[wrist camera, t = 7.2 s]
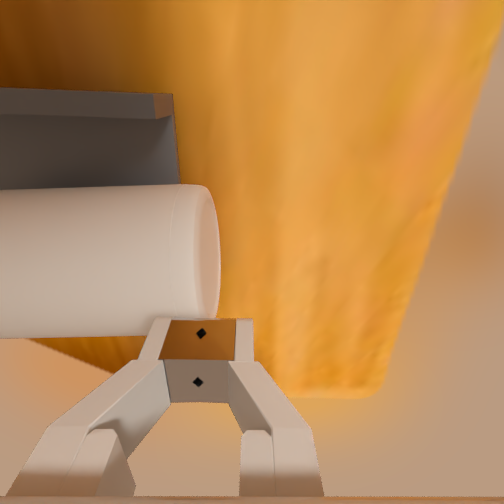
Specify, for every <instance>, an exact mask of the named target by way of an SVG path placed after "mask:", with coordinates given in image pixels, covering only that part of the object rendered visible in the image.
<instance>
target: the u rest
mask: <svg viewBox="0 0 504 504" xmlns="http://www.w3.org/2000/svg"><path fill="white" fill-rule="evenodd" d="M169 184H181V181H180V170H179V159H178V148H177V138H176V127H175V116H174V105H173V94H163V93H138V92H113V91H88V90H63V89H38V88H13V87H0V190H15V189H46V188H77V187H107V186H138V185H169Z"/></svg>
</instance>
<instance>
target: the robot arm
mask: <svg viewBox="0 0 504 504" xmlns="http://www.w3.org/2000/svg"><path fill="white" fill-rule="evenodd" d="M171 402H213V403H229V406H230V408H231V410H232V412H233V414H234V416H235V418H236V420H237V422H238V424H239V426H240V428H241V430H242V432H243V435H242V436H241V461H240V489H239V490H240V491H239V497H219V496H218V497H217V496H216V497H211V496H210V497H209V496H207V497H206V496H201V497H200V496H199V497H198V496H196V497H195V496H193V497H192V496H191V497H190V496H187V497H186V496H185V497H184V496H180V497H175V496H169V497H168V496H167V497H166V496H165V497H163V496H161V497H160V496H151V497H150V496H143V497H142V496H138V497H137V496H133V494H134V490H135V487H136V485H135V482H134V479H133V477H132V474H131V471H130V469H129V466H128V463H127V458H128V457H129V456H130V455H131V453H132V452H133V451H134V449H135V448H136V447H137V446H138V445H139V443H140V442H141V441H142V440H143V438H144V437H145V436H146V435H147V433H148V432H149V431H150V429H151V428H152V427H153V426H154V425H155V423H156V422H157V421H158V420H159V418H160V417H161V416H162V415H163V413H164V412H165V411H166V410H167V408H168V407H169V406H170V405H171ZM0 504H504V497H324V492H323V487H322V482H321V477H320V471H319V467H318V461H317V455H316V450H315V445H314V440H313V434H312V430H311V428H310V427H309V425H308V424H307V423H306V422H305V420H304V419H303V418H302V416H301V415H300V414H299V413H298V411H297V410H296V409H295V407H294V406H293V405H292V404H291V402H290V401H289V400H288V398H287V397H286V396H285V394H284V393H283V392H282V391H281V389H280V388H279V387H278V385H277V384H276V383H275V382H274V380H273V379H272V378H271V376H270V375H269V374H268V373H267V371H266V370H265V369H264V367H263V366H262V365H261V364H260V362H256V361H254V340H253V320H252V318H237V320H236V319H235V318H186V317H156V318H155V320H154V321H153V323H152V326H151V328H150V331H149V333H148V335H147V338H146V340H145V342H144V345H143V347H142V350H141V352H140V354H139V357H138V359H137V360H131V361H130V362H129V363H127V364H126V365H125V366H123V367H122V368H121V369H120V370H118V371H117V372H116V373H115V374H113V375H112V376H111V377H110V378H108V379H107V380H106V381H105V382H103V383H102V384H101V385H100V386H98V387H97V388H96V389H94V390H93V391H92V392H91V393H90V394H88V395H87V396H86V397H84V398H83V399H82V400H81V401H79V402H78V403H77V404H76V405H74V406H73V407H72V408H71V409H69V410H68V411H67V412H66V413H64V414H63V415H62V416H61V417H59V418H58V419H57V420H55V421H54V422H53V423H52V424H50V425H49V426H48V427H47V428H46V430H45V432H44V433H43V435H42V437H41V438H40V440H39V442H38V443H37V445H36V447H35V448H34V450H33V452H32V453H31V455H30V456H29V458H28V460H27V461H26V463H25V465H24V467H23V468H22V470H21V471H20V473H19V475H18V476H17V478H16V480H15V481H14V483H13V484H12V487H11V488H10V489H9V491H8V493H7V494H6V496H0Z"/></svg>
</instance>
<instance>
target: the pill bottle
mask: <svg viewBox="0 0 504 504" xmlns="http://www.w3.org/2000/svg"><path fill="white" fill-rule="evenodd" d="M220 277H221V258H220V238H219V228H218V221H217V214H216V209H215V205H214V202H213V199H212V196H211V194H210V192H209V190H208V189H207V188H206V187H204V186H201V185H189V184H169V185H138V186H107V187H77V188H46V189H15V190H0V338H3V339H4V338H5V339H6V338H7V339H8V338H57V337H104V336H147V335H148V333H149V331H150V328H151V326H152V323H153V321H154V320H155V318H156V317H186V318H216V314H217V309H218V303H219V294H220Z"/></svg>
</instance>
